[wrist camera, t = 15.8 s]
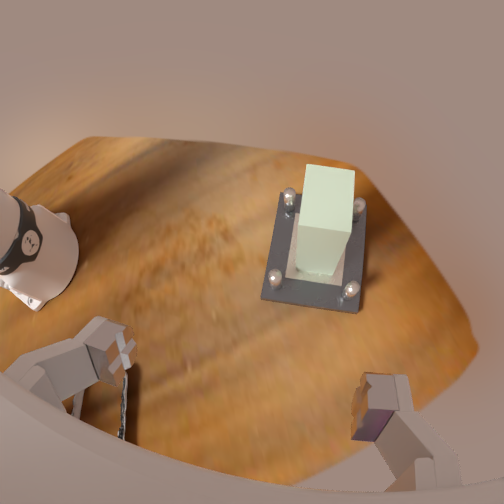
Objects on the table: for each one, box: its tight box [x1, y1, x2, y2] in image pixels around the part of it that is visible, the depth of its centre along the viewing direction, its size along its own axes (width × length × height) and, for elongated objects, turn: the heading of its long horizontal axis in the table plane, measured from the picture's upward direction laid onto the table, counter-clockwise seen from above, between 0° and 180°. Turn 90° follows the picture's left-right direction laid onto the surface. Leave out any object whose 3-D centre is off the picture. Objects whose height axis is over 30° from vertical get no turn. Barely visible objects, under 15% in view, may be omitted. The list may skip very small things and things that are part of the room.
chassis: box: [261, 188, 367, 314], centre depth 42 cm, size 13×16×5 cm
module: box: [296, 164, 355, 275], centre depth 36 cm, size 5×7×14 cm
